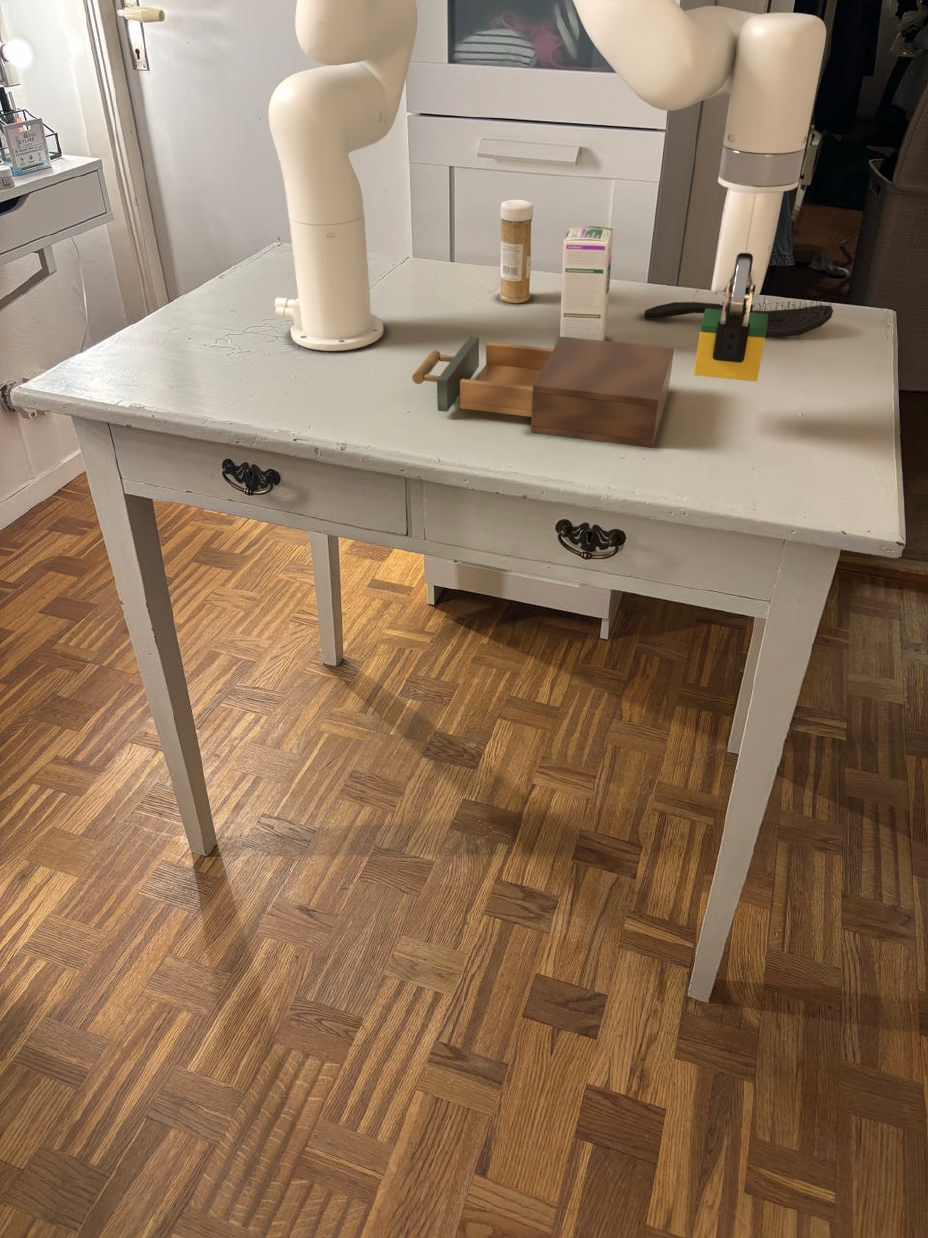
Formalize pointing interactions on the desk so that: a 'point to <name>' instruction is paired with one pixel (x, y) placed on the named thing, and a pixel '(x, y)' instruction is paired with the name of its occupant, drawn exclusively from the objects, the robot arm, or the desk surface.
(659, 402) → the drawer unit
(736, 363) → the sponge
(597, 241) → the syrup box
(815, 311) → the hairbrush
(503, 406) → the drawer
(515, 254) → the sprinkles bottle
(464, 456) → the desk surface
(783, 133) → the robot arm
